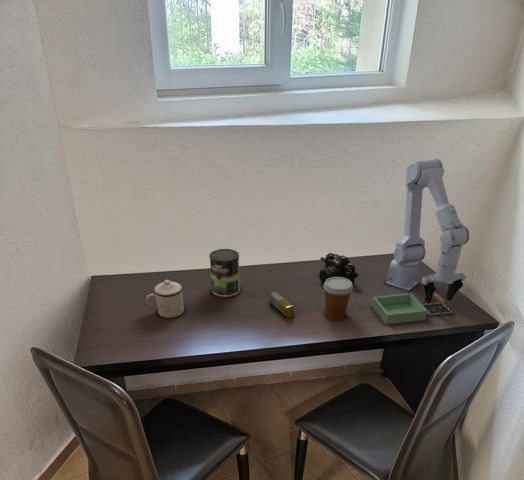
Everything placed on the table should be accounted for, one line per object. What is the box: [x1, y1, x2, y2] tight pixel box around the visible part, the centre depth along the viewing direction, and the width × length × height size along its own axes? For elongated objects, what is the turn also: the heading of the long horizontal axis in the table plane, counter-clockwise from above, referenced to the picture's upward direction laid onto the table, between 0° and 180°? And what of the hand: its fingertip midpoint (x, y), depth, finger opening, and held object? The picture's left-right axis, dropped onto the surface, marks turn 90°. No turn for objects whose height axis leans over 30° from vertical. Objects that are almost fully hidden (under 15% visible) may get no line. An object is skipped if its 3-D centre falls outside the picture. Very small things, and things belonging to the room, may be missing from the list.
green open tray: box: [371, 292, 428, 325], centre depth 155 cm, size 14×12×4 cm
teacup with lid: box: [146, 279, 185, 319], centre depth 153 cm, size 12×9×12 cm
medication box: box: [269, 290, 295, 318], centre depth 157 cm, size 12×3×4 cm, turn 28°
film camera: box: [318, 252, 359, 287], centre depth 172 cm, size 18×12×10 cm
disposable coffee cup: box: [322, 277, 354, 321], centre depth 152 cm, size 10×10×12 cm
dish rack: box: [421, 292, 454, 316], centre depth 157 cm, size 8×7×5 cm
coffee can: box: [209, 248, 241, 298], centre depth 165 cm, size 10×10×14 cm
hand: (438, 300), depth 156 cm, fingers open, 7 cm apart
